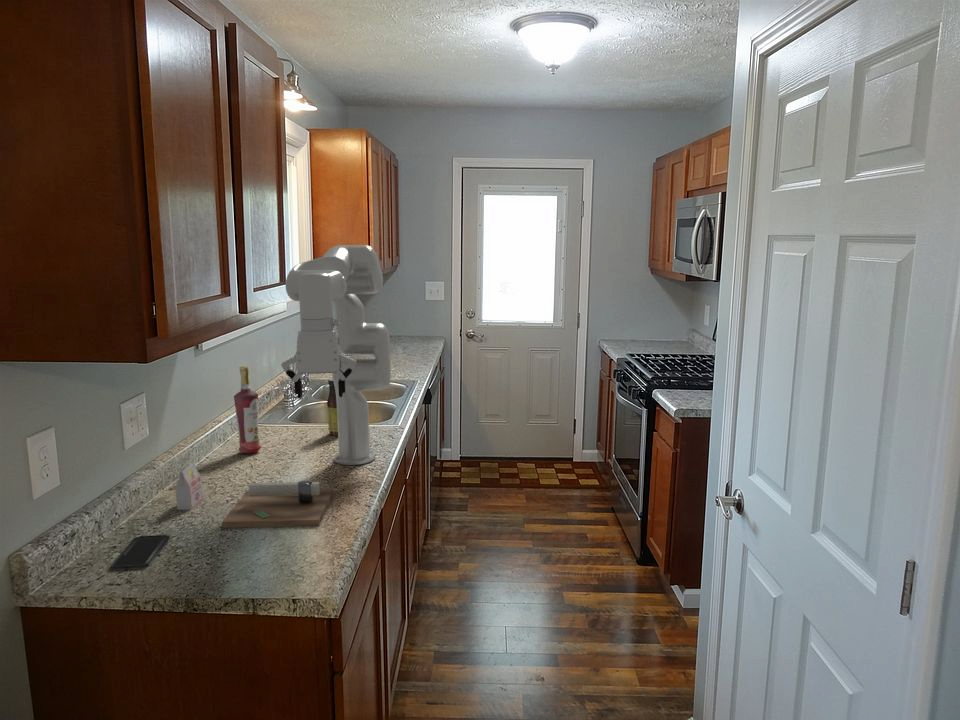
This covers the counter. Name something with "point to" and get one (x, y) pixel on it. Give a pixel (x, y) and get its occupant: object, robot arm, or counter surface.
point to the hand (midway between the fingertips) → (320, 396)
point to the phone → (140, 552)
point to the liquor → (247, 415)
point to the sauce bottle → (332, 409)
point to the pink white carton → (189, 489)
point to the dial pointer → (286, 490)
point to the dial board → (278, 511)
